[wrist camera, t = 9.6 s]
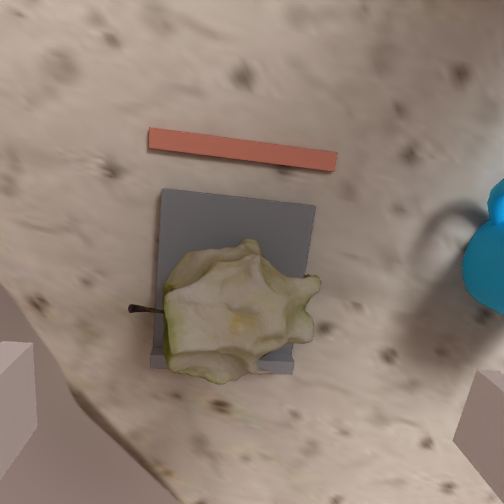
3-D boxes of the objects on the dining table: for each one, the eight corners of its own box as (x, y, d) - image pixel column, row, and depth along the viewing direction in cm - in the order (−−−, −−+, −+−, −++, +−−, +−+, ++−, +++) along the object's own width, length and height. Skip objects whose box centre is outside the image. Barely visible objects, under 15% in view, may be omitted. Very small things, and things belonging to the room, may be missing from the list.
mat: (163, 188, 22) (159, 190, 20) (312, 205, 23) (320, 208, 21) (154, 353, 25) (149, 368, 23) (287, 360, 26) (292, 374, 24)
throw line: (150, 127, 21) (149, 127, 20) (336, 152, 22) (337, 152, 22) (149, 147, 21) (148, 147, 21) (332, 171, 23) (334, 171, 22)
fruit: (145, 316, 24) (91, 339, 16) (229, 214, 24) (218, 185, 16) (247, 400, 23) (245, 467, 15) (330, 295, 24) (370, 307, 16)
